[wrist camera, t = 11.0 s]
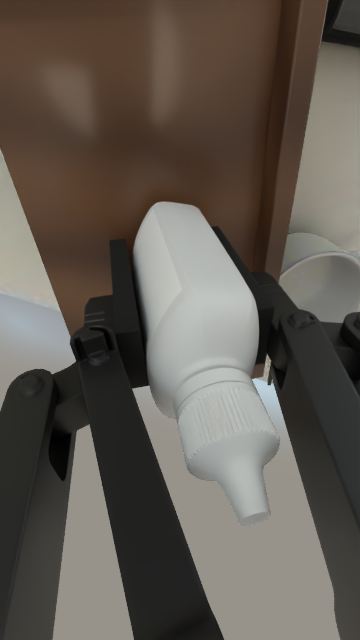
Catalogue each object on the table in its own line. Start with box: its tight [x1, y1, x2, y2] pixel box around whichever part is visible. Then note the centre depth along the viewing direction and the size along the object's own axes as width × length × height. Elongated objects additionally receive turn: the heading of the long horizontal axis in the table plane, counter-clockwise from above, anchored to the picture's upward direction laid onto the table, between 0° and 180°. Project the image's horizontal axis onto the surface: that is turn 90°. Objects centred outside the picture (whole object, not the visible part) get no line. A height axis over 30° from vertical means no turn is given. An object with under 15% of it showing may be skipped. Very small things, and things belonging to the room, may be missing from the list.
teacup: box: [279, 233, 360, 323], centre depth 33 cm, size 14×11×8 cm
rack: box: [0, 0, 328, 379], centre depth 21 cm, size 20×12×16 cm, turn 3°
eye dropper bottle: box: [132, 201, 280, 526], centre depth 11 cm, size 4×6×12 cm
